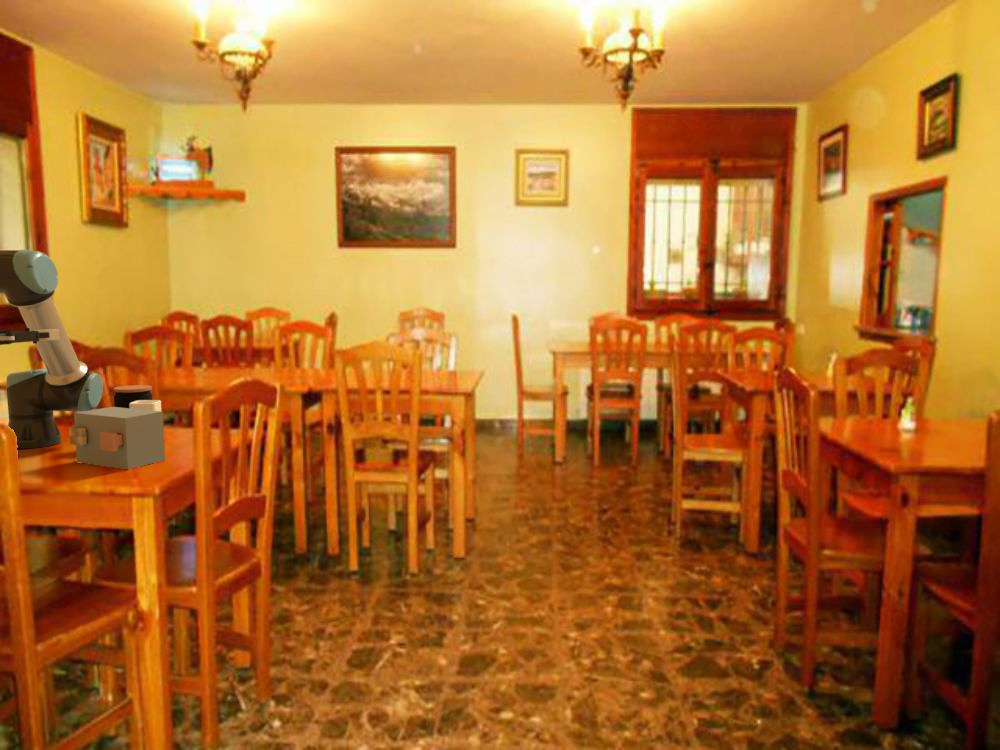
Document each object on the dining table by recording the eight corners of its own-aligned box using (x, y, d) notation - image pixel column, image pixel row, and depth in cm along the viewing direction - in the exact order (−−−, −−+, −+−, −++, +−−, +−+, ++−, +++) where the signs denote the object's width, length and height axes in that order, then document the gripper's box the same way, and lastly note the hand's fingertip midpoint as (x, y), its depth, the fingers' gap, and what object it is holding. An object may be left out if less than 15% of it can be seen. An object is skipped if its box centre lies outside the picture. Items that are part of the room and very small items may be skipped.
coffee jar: (153, 446, 224) (150, 388, 222) (114, 449, 220) (111, 390, 218) (155, 440, 234) (153, 384, 232) (118, 442, 230) (115, 385, 228)
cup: (140, 448, 222) (137, 400, 220) (164, 448, 222) (162, 399, 220) (129, 453, 214) (127, 403, 213) (155, 453, 215) (152, 403, 213)
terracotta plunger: (100, 449, 193) (99, 432, 193) (140, 441, 204) (140, 425, 204) (112, 451, 191) (111, 434, 191) (152, 442, 203) (151, 426, 202)
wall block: (77, 462, 203) (73, 412, 201) (115, 454, 214) (112, 406, 212) (128, 469, 195) (125, 418, 193) (165, 460, 206) (162, 411, 204)
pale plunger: (70, 444, 200) (69, 427, 200) (110, 436, 211) (109, 420, 211) (81, 445, 198) (80, 428, 198) (121, 437, 210) (121, 421, 209)
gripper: (-55, 354, 174) (42, 347, 196) (-20, 356, 169) (75, 349, 191) (-57, 322, 174) (40, 319, 195) (-23, 323, 168) (73, 320, 190)
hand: (57, 334), depth 193 cm, fingers closed
